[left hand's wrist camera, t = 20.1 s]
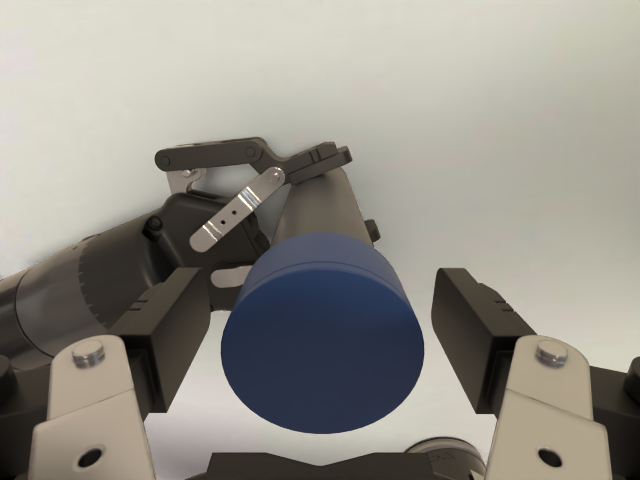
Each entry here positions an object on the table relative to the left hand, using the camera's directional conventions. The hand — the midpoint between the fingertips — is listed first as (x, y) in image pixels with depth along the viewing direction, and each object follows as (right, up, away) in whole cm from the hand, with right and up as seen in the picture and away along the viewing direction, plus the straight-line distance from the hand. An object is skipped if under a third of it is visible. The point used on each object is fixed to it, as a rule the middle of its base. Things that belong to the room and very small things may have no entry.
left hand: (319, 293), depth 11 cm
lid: (0, -1, -2) cm, 2 cm away
